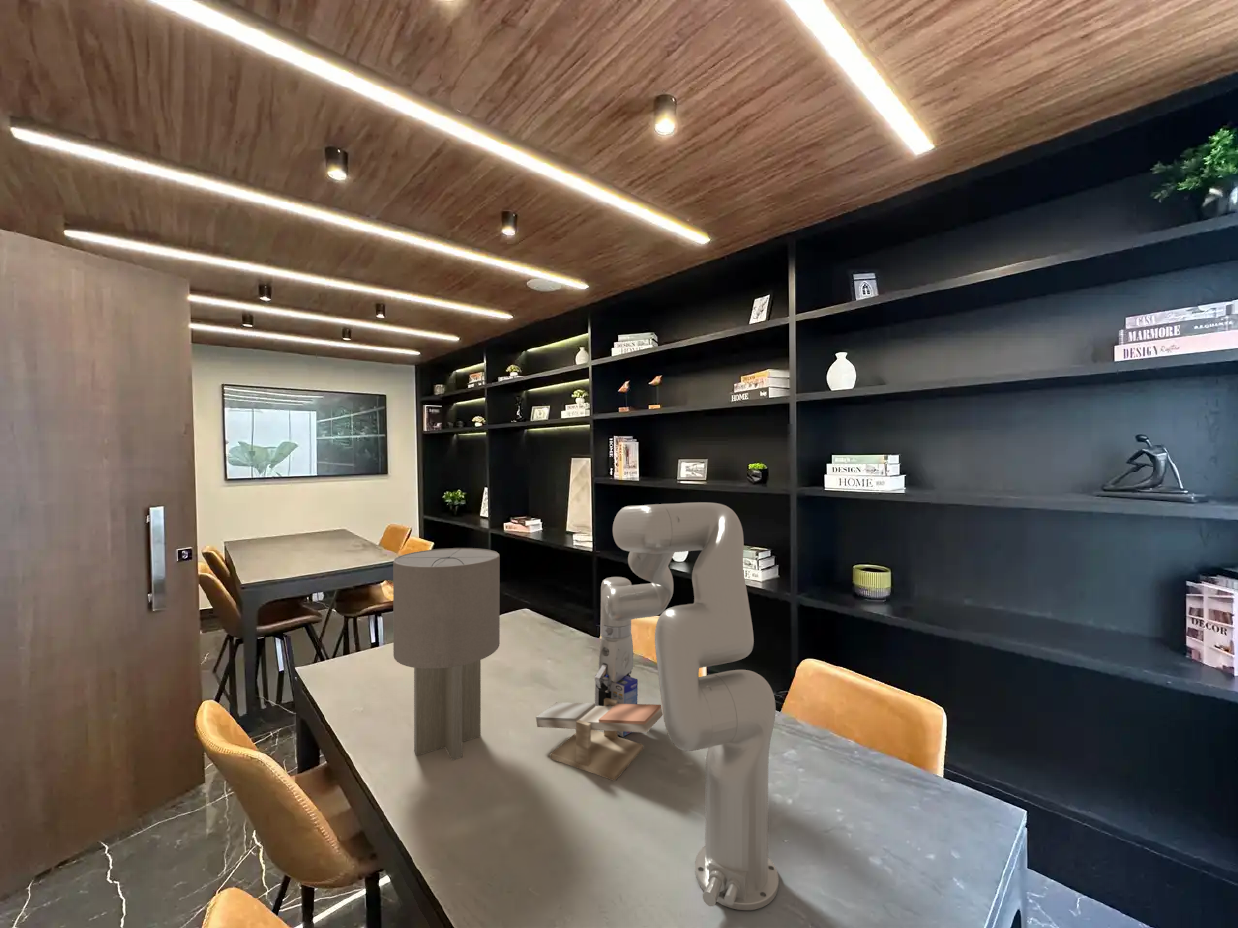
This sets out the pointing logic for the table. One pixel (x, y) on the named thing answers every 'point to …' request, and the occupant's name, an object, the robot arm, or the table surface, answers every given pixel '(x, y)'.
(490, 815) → the table surface
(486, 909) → the table surface
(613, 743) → the stand
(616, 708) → the beam
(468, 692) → the lamp
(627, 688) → the ink cartridge box
